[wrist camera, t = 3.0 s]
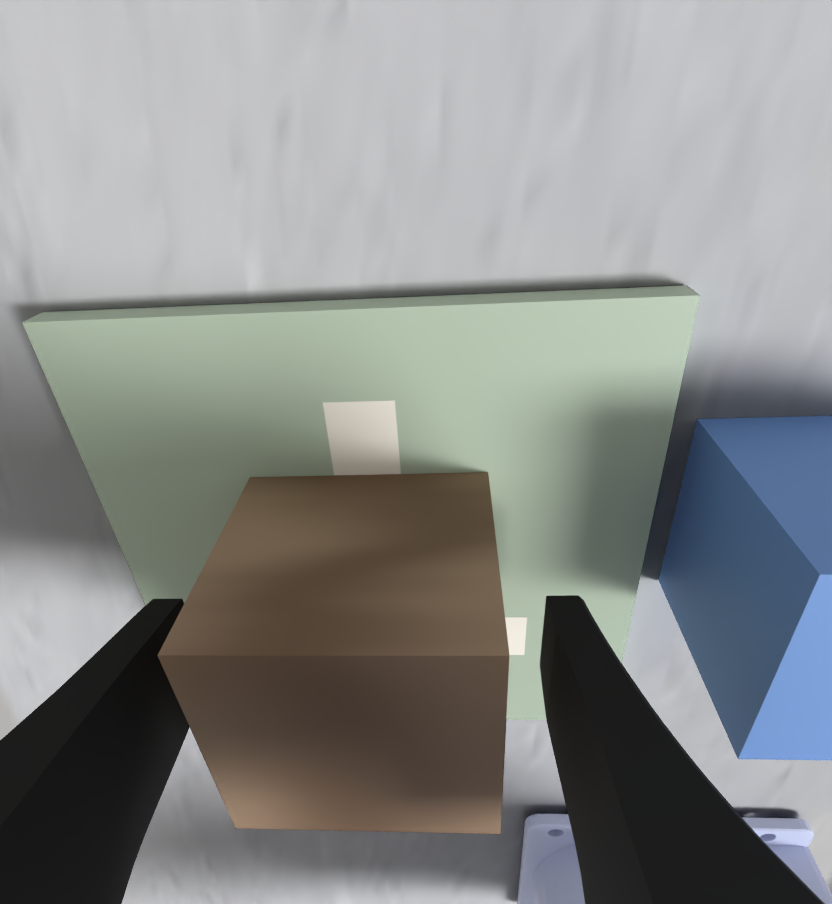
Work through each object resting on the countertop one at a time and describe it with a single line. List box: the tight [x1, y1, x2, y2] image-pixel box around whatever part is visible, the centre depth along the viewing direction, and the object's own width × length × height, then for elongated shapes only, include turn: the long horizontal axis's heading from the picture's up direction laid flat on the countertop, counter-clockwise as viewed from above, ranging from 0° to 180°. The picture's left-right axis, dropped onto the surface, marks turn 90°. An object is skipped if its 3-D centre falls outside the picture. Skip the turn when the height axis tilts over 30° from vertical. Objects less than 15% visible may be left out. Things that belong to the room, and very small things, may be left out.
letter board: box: [22, 285, 700, 720], centre depth 13 cm, size 12×12×1 cm
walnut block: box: [157, 472, 509, 834], centre depth 11 cm, size 5×5×4 cm
